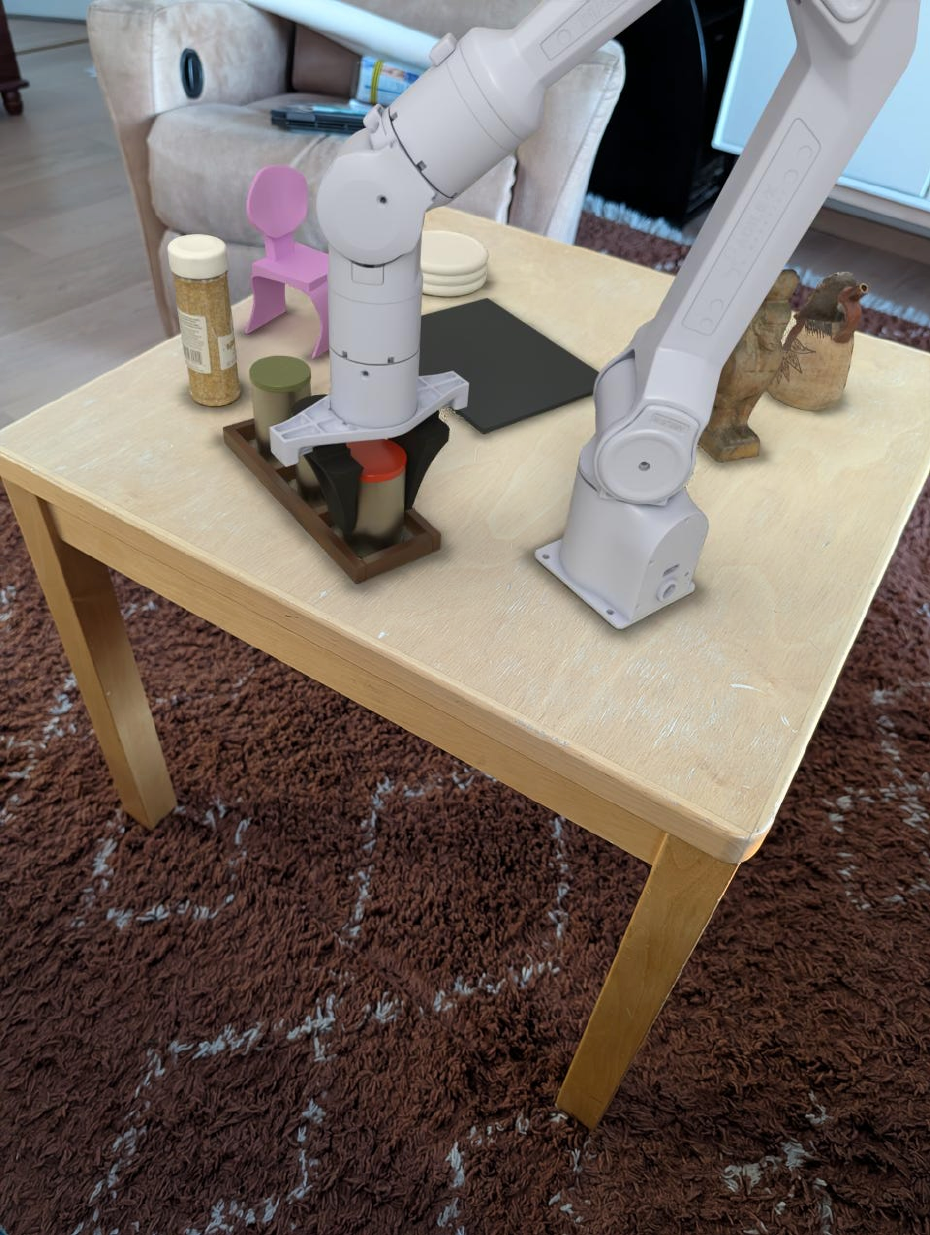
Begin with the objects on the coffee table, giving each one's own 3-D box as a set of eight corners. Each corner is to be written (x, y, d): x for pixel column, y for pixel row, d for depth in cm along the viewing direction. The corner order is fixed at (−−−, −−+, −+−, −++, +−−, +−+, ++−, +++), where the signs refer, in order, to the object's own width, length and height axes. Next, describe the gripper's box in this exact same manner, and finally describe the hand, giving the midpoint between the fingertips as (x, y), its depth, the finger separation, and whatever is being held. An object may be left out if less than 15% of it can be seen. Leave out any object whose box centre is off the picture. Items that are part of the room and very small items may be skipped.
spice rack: (440, 549, 69) (441, 534, 68) (356, 584, 65) (356, 568, 64) (302, 418, 80) (301, 403, 79) (223, 442, 77) (222, 427, 75)
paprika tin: (415, 545, 69) (420, 462, 64) (362, 567, 67) (362, 483, 62) (381, 512, 72) (382, 430, 66) (328, 532, 69) (326, 448, 64)
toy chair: (312, 365, 86) (306, 201, 76) (237, 337, 89) (221, 175, 79) (361, 331, 92) (362, 174, 81) (290, 306, 95) (281, 150, 84)
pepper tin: (368, 499, 73) (368, 417, 67) (315, 518, 70) (312, 435, 65) (336, 469, 75) (335, 387, 70) (285, 487, 73) (279, 404, 68)
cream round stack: (432, 251, 107) (434, 220, 105) (503, 278, 103) (507, 247, 101) (377, 277, 101) (378, 245, 98) (450, 307, 97) (453, 275, 95)
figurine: (812, 371, 94) (856, 254, 85) (853, 408, 89) (904, 288, 81) (751, 377, 92) (791, 258, 83) (790, 415, 87) (836, 293, 79)
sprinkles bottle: (250, 400, 81) (235, 250, 72) (200, 413, 79) (179, 259, 70) (229, 376, 84) (212, 228, 75) (180, 388, 82) (157, 236, 73)
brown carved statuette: (750, 477, 83) (849, 314, 69) (696, 482, 82) (785, 316, 67) (701, 387, 90) (782, 218, 75) (650, 390, 88) (722, 219, 73)
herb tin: (324, 457, 76) (322, 376, 71) (273, 474, 74) (267, 392, 69) (296, 430, 79) (292, 349, 73) (246, 445, 76) (238, 364, 71)
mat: (614, 387, 88) (615, 382, 88) (483, 434, 81) (483, 429, 80) (487, 302, 99) (487, 297, 99) (360, 336, 91) (360, 331, 91)
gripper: (431, 293, 64) (422, 457, 73) (240, 342, 57) (257, 516, 66) (494, 337, 60) (476, 504, 69) (297, 395, 53) (306, 571, 62)
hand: (372, 513), depth 68 cm, fingers closed on paprika tin, 4 cm apart
